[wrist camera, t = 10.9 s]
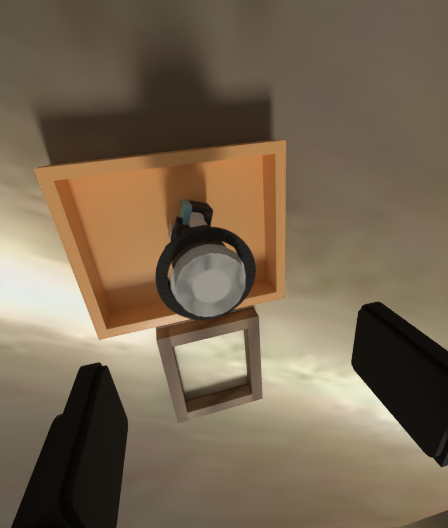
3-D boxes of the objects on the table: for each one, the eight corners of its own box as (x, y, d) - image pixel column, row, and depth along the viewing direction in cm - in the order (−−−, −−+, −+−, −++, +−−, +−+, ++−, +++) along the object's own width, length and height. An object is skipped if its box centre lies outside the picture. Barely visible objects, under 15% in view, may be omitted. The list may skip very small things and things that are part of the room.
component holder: (253, 307, 28) (258, 316, 26) (257, 388, 33) (262, 398, 32) (156, 329, 26) (156, 340, 25) (177, 411, 31) (178, 423, 30)
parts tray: (269, 140, 21) (286, 139, 19) (271, 282, 27) (285, 297, 24) (50, 164, 18) (33, 168, 16) (104, 317, 24) (99, 339, 22)
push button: (209, 274, 24) (242, 351, 16) (148, 269, 23) (147, 351, 14) (224, 201, 22) (274, 242, 13) (158, 189, 20) (163, 227, 12)
